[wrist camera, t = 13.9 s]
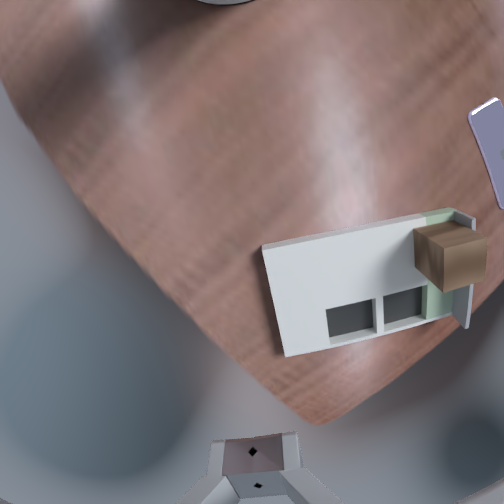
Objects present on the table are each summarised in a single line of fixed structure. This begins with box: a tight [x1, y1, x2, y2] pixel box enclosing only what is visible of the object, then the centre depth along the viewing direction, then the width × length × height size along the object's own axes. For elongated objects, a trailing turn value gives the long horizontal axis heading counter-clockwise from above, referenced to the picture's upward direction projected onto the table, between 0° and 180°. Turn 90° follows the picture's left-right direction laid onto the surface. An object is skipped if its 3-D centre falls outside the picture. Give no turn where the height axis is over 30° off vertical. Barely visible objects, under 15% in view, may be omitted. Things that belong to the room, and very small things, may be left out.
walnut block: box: [413, 220, 487, 293], centre depth 32 cm, size 5×6×8 cm
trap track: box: [262, 207, 476, 357], centre depth 37 cm, size 15×25×6 cm, turn 103°
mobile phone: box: [468, 97, 504, 209], centre depth 33 cm, size 8×1×15 cm
